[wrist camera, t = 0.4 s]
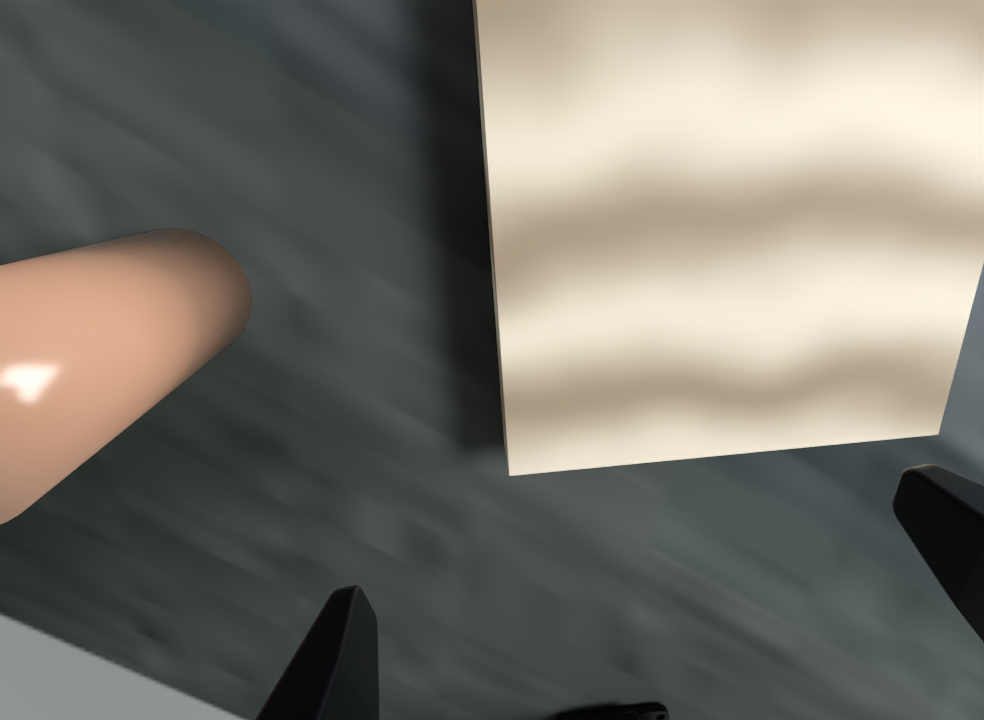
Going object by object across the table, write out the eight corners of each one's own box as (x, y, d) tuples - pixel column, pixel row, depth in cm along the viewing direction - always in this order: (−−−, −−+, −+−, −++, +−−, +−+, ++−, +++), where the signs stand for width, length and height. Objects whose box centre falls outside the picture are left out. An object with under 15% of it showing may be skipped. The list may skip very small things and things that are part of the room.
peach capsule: (264, 348, 21) (86, 521, 11) (139, 359, 21) (-158, 545, 11) (233, 223, 20) (-11, 291, 9) (97, 233, 19) (-305, 314, 9)
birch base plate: (891, 408, 24) (938, 434, 22) (504, 444, 24) (509, 475, 21) (998, -69, 18) (1079, -103, 16) (470, -35, 17) (471, -65, 15)
